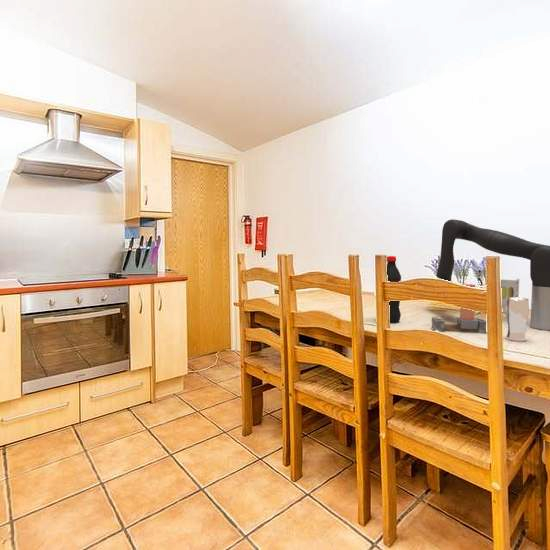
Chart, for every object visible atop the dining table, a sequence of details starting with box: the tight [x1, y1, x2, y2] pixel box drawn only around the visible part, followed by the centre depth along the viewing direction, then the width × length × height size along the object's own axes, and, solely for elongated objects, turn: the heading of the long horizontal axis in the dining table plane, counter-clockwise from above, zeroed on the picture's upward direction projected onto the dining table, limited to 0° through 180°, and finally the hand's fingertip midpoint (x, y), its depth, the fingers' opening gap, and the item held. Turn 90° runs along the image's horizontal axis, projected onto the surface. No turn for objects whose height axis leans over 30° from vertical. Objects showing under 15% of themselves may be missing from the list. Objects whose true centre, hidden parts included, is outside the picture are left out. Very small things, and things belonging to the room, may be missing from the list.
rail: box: [431, 316, 487, 334], centre depth 144 cm, size 19×7×5 cm, turn 79°
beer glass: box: [505, 296, 530, 342], centre depth 130 cm, size 7×7×15 cm
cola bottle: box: [386, 255, 402, 324], centre depth 162 cm, size 8×8×30 cm
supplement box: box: [500, 277, 520, 314], centre depth 178 cm, size 10×9×17 cm
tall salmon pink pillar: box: [455, 283, 478, 329], centre depth 143 cm, size 6×6×17 cm
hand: (461, 300), depth 151 cm, fingers open, 8 cm apart
